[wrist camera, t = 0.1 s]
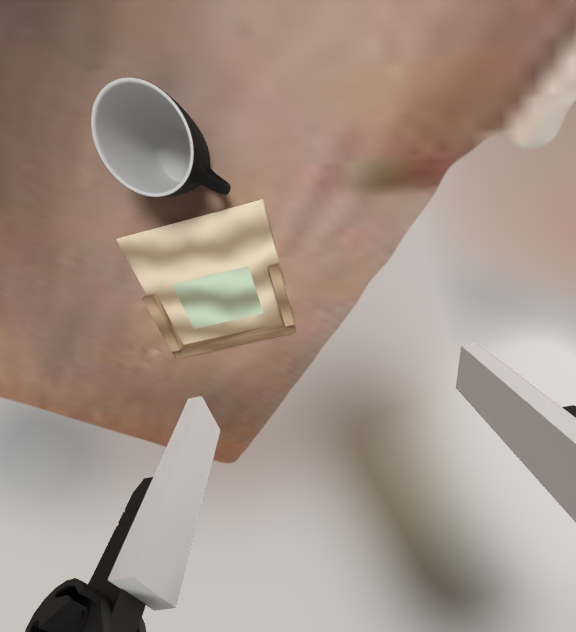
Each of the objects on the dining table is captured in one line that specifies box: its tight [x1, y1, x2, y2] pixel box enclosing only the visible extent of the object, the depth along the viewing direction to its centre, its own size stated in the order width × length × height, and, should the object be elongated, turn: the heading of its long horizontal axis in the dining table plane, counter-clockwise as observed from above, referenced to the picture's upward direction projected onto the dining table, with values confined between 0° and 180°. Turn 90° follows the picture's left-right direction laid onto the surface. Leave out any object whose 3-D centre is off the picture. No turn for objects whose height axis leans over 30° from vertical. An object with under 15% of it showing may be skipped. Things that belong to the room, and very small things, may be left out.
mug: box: [91, 78, 231, 197], centre depth 27 cm, size 12×9×10 cm
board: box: [116, 199, 296, 359], centre depth 37 cm, size 20×21×4 cm
